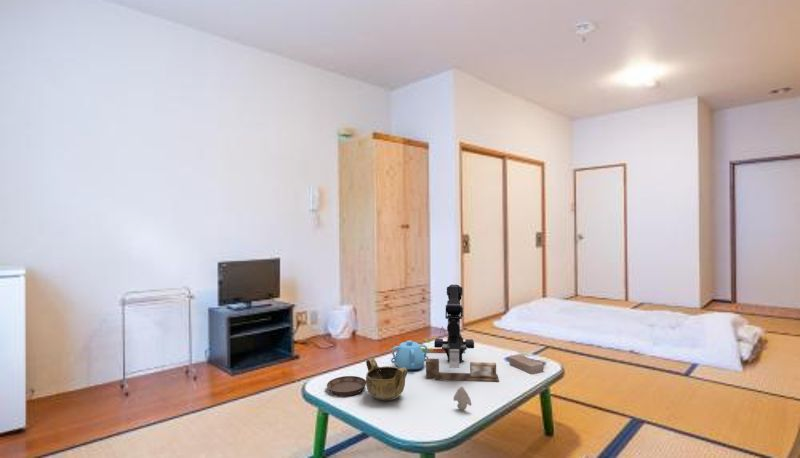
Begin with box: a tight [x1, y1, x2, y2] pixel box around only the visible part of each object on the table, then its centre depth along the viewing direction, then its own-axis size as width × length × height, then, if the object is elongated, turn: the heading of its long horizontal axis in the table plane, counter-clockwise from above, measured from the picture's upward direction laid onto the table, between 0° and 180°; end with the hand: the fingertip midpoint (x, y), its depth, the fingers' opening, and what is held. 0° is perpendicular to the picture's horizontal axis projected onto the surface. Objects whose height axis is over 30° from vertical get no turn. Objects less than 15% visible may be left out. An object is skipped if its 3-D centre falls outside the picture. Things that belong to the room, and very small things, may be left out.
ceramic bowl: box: [365, 357, 408, 402], centre depth 182 cm, size 22×17×15 cm
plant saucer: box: [326, 375, 366, 397], centre depth 192 cm, size 18×18×3 cm
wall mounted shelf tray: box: [469, 361, 497, 378], centre depth 202 cm, size 12×4×6 cm, turn 83°
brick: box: [508, 354, 544, 375], centre depth 216 cm, size 17×8×5 cm, turn 28°
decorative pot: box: [390, 340, 429, 371], centre depth 220 cm, size 16×16×14 cm
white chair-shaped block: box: [448, 349, 460, 369], centre depth 204 cm, size 4×9×6 cm, turn 173°
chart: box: [420, 326, 466, 354], centre depth 243 cm, size 30×3×15 cm, turn 85°
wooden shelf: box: [425, 357, 500, 383], centre depth 204 cm, size 34×8×8 cm, turn 83°
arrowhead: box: [453, 385, 472, 411], centre depth 169 cm, size 8×3×10 cm, turn 54°
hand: (454, 361), depth 204 cm, fingers closed on white chair-shaped block, 4 cm apart
